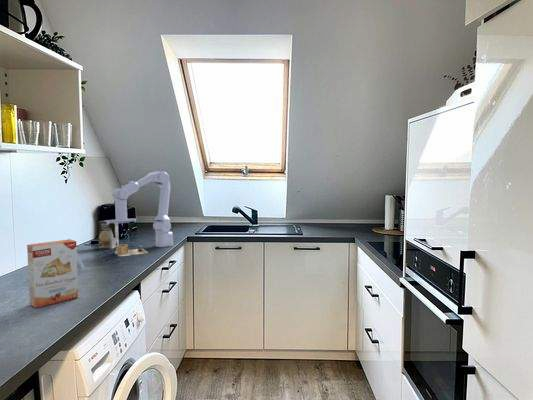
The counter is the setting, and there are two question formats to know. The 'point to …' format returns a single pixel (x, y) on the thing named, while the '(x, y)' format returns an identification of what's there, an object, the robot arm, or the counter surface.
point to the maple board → (134, 252)
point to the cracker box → (52, 272)
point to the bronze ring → (122, 249)
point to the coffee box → (107, 235)
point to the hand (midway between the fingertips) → (122, 236)
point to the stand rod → (139, 248)
